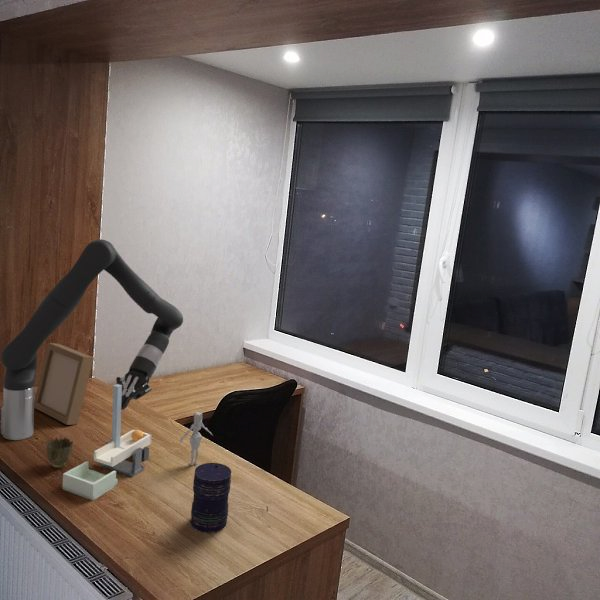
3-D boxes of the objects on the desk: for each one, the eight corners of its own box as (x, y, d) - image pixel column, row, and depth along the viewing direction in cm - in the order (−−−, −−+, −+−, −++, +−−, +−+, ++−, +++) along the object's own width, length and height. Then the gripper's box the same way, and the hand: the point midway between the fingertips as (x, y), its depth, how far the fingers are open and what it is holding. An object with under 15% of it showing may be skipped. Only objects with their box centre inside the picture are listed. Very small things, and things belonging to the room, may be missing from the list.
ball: (128, 441, 179) (129, 430, 179) (135, 437, 183) (136, 427, 182) (137, 444, 178) (138, 433, 178) (144, 440, 181) (146, 430, 181)
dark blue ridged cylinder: (220, 536, 147) (225, 483, 144) (184, 529, 148) (188, 476, 145) (231, 516, 156) (236, 466, 154) (198, 509, 158) (202, 459, 155)
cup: (76, 468, 173) (77, 443, 171) (52, 475, 167) (52, 450, 166) (65, 459, 178) (66, 435, 176) (41, 465, 172) (42, 440, 171)
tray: (62, 489, 161) (62, 473, 160) (88, 474, 170) (88, 460, 169) (92, 500, 157) (93, 484, 156) (117, 485, 166) (118, 470, 165)
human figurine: (207, 458, 188) (211, 407, 185) (213, 463, 185) (217, 411, 182) (174, 466, 180) (178, 413, 177) (180, 471, 177) (184, 418, 174)
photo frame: (66, 427, 200) (69, 359, 196) (32, 409, 212) (34, 345, 208) (102, 416, 212) (105, 352, 208) (68, 400, 224) (70, 339, 220)
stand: (100, 466, 175) (101, 443, 174) (127, 451, 187) (128, 430, 186) (132, 477, 171) (133, 454, 170) (157, 461, 183) (158, 439, 181)
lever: (91, 459, 168) (92, 393, 164) (131, 437, 185) (133, 376, 181) (115, 468, 165) (117, 400, 161) (153, 444, 182) (156, 382, 177)
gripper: (125, 351, 183) (97, 398, 174) (159, 359, 179) (132, 408, 170) (134, 363, 189) (108, 409, 180) (167, 371, 184) (142, 418, 175)
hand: (119, 408), depth 175 cm, fingers closed
